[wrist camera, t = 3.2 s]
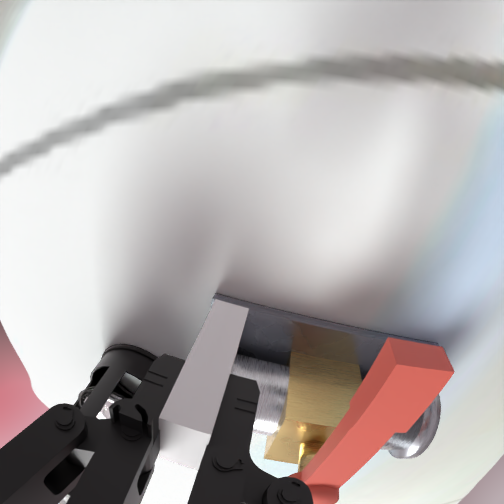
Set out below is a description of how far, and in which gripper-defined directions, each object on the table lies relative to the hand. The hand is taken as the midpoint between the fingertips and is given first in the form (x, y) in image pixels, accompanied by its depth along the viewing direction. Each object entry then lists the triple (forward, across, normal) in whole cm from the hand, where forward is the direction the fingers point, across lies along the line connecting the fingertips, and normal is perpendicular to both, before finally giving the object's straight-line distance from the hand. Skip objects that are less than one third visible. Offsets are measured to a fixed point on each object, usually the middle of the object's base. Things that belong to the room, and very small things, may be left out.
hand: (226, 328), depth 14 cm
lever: (-2, +8, -5) cm, 9 cm away
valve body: (+10, +8, -10) cm, 16 cm away
